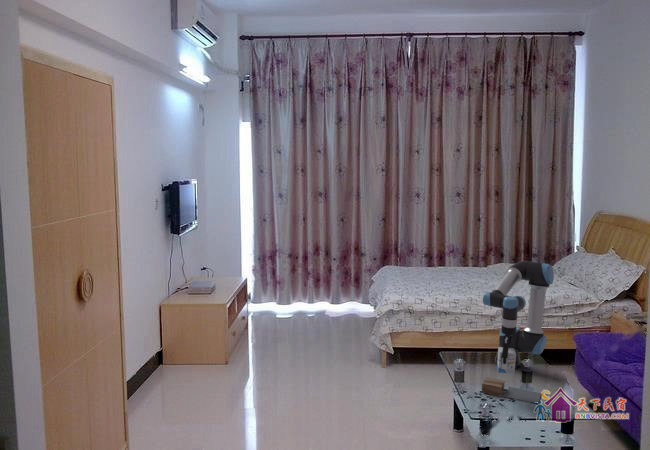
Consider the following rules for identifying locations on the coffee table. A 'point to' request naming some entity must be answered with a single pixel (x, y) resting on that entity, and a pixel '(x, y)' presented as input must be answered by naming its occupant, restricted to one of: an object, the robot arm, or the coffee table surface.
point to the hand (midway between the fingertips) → (506, 365)
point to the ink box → (510, 361)
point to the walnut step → (493, 386)
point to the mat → (522, 395)
